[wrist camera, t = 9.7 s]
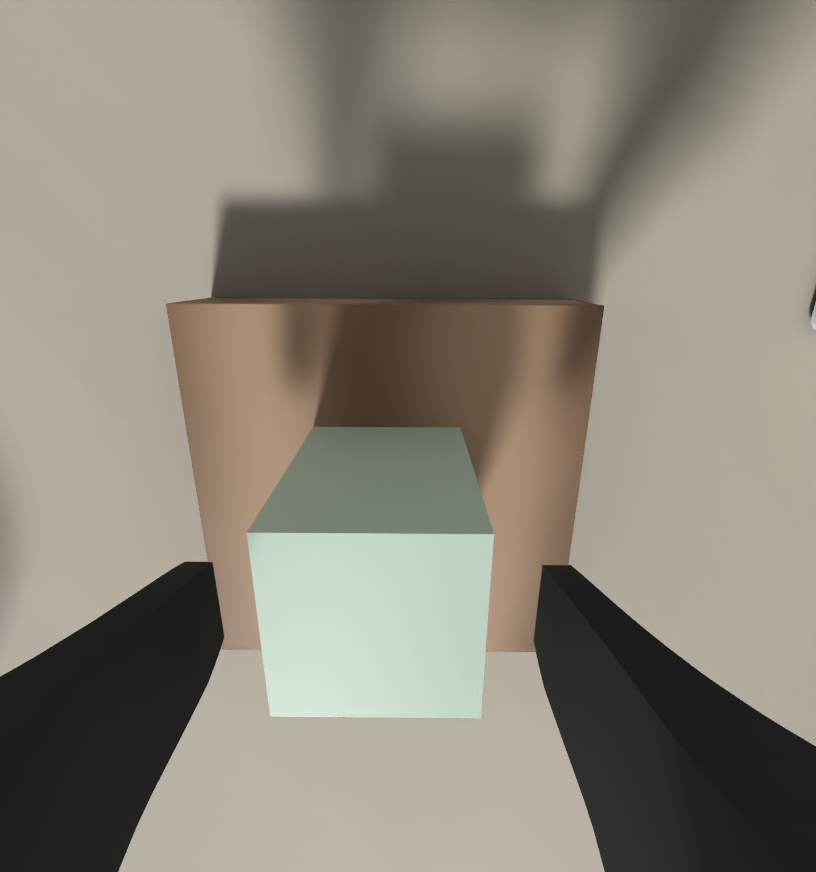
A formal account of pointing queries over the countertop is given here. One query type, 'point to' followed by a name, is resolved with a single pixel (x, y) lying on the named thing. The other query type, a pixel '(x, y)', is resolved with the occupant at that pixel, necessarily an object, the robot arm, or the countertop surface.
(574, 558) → the countertop surface
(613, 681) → the robot arm
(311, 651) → the sage block
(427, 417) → the walnut block
